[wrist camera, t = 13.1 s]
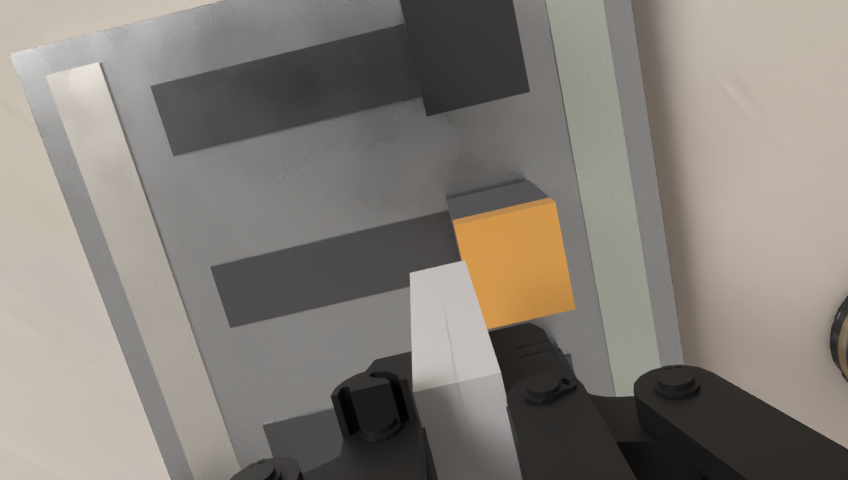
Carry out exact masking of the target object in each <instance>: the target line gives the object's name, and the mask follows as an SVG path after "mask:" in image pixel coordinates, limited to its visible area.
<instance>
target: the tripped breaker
mask: <svg viewBox="0 0 848 480" xmlns="http://www.w3.org/2000/svg"><path fill="white" fill-rule="evenodd" d="M446 202H447V206H448V211H449V215H450V220H451V224H452V228H453V233H454V237H455V241H456V246H457V250H458V254H459V259H460V261H463V260H465V262H466V265H467V268H468V271H469V274H470V277H471V281H472V284H473V287H474V290H475V293H476V296H477V299H478V302H479V305H480V309H481V312H482V315H483V318H484V321H485V324H486V327H487V329H491V328H496V327H500V326H504V325H509V324H513V323H518V322H522V321H526V320H531V319H535V318H539V317H544V316H548V315H553V314H557V313H561V312H566V311H570V310H574V309H575V304H574V298H573V293H572V288H571V282H570V277H569V272H568V266H567V261H566V256H565V250H564V245H563V240H562V234H561V229H560V224H559V218H558V213H557V208H556V202H555V201H554V200H552V199H551V198H550V197H549V196H548V195H546V194H545V193H544V192H543V191H542V190H540V189H539V188H538V187H537V186H536V185H534V184H533V183H532V182H531V181H530V180H528V181H524V182H520V183H515V184H511V185H507V186H503V187H498V188H494V189H490V190H486V191H481V192H477V193H473V194H469V195H464V196H460V197H456V198H452V199H448V200H446Z"/></svg>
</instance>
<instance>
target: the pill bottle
mask: <svg viewBox="0 0 848 480" xmlns="http://www.w3.org/2000/svg"><path fill="white" fill-rule="evenodd" d="M830 349H831V354H832V358H833V361H834V362H835V364H836V366H837V367H838V368H839V369H840V370H841V371H842V375H843V377H844V378H845V379H846V381H847V382H848V296H847V297H846V299H845V301H844V302H843V303H842V304H841V306H840V308H839V309H838V312H837V314H836V316H835V320H834V323H833V325H832V328H831V334H830Z"/></svg>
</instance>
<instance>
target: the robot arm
mask: <svg viewBox="0 0 848 480" xmlns="http://www.w3.org/2000/svg"><path fill="white" fill-rule="evenodd" d="M410 303H411V342H412V351H410V352H406V353H402V354H397V355H393V356H389V357H384V358H380V359H376V360H374V361H373V362H372V364H371V365H370V366H369V367H368V369H367V370H366V371H365V372H362V373H359V374H356V375H354V376H352V377H350V378H348V379H346V380H344V381H343V382H342V383H341V384H339V385H338V386H337V387H336V388H335V389H334V391H333V392H332V394H331V396H330V397H331V400H332V403H333V407H334V410H335V413H336V417H337V420H338V423H339V427H340V430H341V433H342V437H343V443H342V449H341V454H340V455H339V456H337V457H336V458H334V459H333V460H331V461H329V462H327V463H325V464H323V465H321V466H319V467H317V468H314V469H312V470H310V471H307V472H305V473H303V474H302V472H301V469H300V466H299V464H298V462H297V461H295V460H293V459H291V458H290V457H274V458H269V459H262V460H259V461H257V462H256V463H255V462H254V463H252V464H249V465H248V466H246V467H245V468H244V469H242V470H241V471H239V472H238V473H236V474H235V475H234V476H233V477H232V478H231V479H230V480H848V449H846V448H845V447H843V446H841V445H839V444H838V443H836V442H834V441H832V440H830V439H829V438H827V437H825V436H823V435H822V434H820V433H818V432H816V431H815V430H813V429H811V428H809V427H808V426H806V425H804V424H802V423H801V422H799V421H797V420H795V419H793V418H792V417H790V416H788V415H786V414H785V413H783V412H781V411H779V410H778V409H776V408H774V407H772V406H771V405H769V404H767V403H765V402H764V401H762V400H760V399H758V398H756V397H755V396H753V395H751V394H749V393H748V392H746V391H744V390H742V389H741V388H739V387H737V386H735V385H734V384H732V383H730V382H728V381H727V380H725V379H723V378H721V377H719V376H718V375H716V374H714V373H712V372H710V371H707V370H705V369H702V368H699V367H693V366H685V365H674V366H672V365H668V366H663V367H661V368H657V369H653V370H650V371H648V372H647V373H645V374H643V375H641V376H640V377H639V378H638V379H637V380H636V381H635V383H634V396H625V397H604V396H598V395H592V394H589V393H588V392H587V390H586V389H585V387H584V385H583V384H582V383H581V382H580V381H579V380H578V379H577V378H576V377H573V376H570V375H568V373H567V372H566V370H565V368H564V366H563V364H562V362H561V361H560V359H559V357H558V355H557V353H556V351H555V350H554V348H553V346H552V344H551V342H550V341H549V338H548V336H547V335H546V333H545V331H544V329H542V328H540V327H538V326H536V325H534V324H532V323H530V322H529V323H525V324H520V325H516V326H512V327H507V328H503V329H499V330H494V331H490V332H488V330H487V327H486V324H485V321H484V318H483V315H482V312H481V309H480V305H479V302H478V299H477V296H476V293H475V290H474V287H473V284H472V281H471V277H470V274H469V271H468V268H467V265H466V262H465V260H463V261H459V262H455V263H450V264H446V265H442V266H438V267H433V268H429V269H425V270H420V271H416V272H412V273H410Z"/></svg>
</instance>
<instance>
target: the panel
mask: <svg viewBox="0 0 848 480" xmlns="http://www.w3.org/2000/svg"><path fill="white" fill-rule="evenodd" d="M10 56H11V59H12V62H13V64H14V67H15V70H16V72H17V75H18V78H19V80H20V83H21V85H22V88H23V91H24V93H25V96H26V99H27V101H28V104H29V107H30V109H31V112H32V114H33V117H34V120H35V122H36V125H37V128H38V130H39V133H40V136H41V138H42V141H43V143H44V146H45V149H46V151H47V154H48V157H49V159H50V162H51V165H52V167H53V170H54V172H55V175H56V178H57V180H58V183H59V186H60V188H61V191H62V194H63V196H64V199H65V201H66V204H67V207H68V209H69V212H70V215H71V217H72V220H73V223H74V225H75V228H76V230H77V233H78V236H79V238H80V241H81V244H82V246H83V249H84V252H85V254H86V257H87V259H88V262H89V265H90V267H91V270H92V273H93V275H94V278H95V281H96V283H97V286H98V289H99V291H100V294H101V296H102V299H103V302H104V304H105V307H106V310H107V312H108V315H109V318H110V320H111V323H112V325H113V328H114V331H115V333H116V336H117V339H118V341H119V344H120V347H121V349H122V352H123V354H124V357H125V360H126V362H127V365H128V368H129V370H130V373H131V376H132V378H133V381H134V383H135V386H136V389H137V391H138V394H139V397H140V399H141V402H142V405H143V407H144V410H145V412H146V415H147V418H148V420H149V423H150V426H151V428H152V431H153V434H154V436H155V439H156V441H157V444H158V447H159V449H160V452H161V455H162V457H163V460H164V463H165V465H166V468H167V470H168V473H169V476H170V478H171V480H230V479H231V478H232V477H233V476H234V475H235V474H236V473H238V472H239V471H241V470H242V469H244V468H245V467H246V466H248V465H249V464H252V463H254V462H255V463H256V462H257V461H259V460H262V459H269V458H274V457H290V458H291V459H293V460H295V461H297V462H298V464H299V466H300V469H301V472H302V474H303V473H305V472H307V471H310V470H312V469H314V468H317V467H319V466H321V465H323V464H325V463H327V462H329V461H331V460H333V459H334V458H336V457H337V456H339V455H340V454H341V449H342V443H343V437H342V433H341V430H340V427H339V423H338V420H337V417H336V413H335V410H334V407H333V403H332V400H331V397H330V396H331V394H332V392H333V391H334V389H335V388H336V387H337V386H338V385H339V384H341V383H342V382H343V381H344V380H346V379H348V378H350V377H352V376H354V375H356V374H359V373H362V372H365V371H366V370H367V369H368V367H369V366H370V365H371V364H372V362H373V361H374V360H376V359H380V358H384V357H389V356H393V355H397V354H402V353H406V352H410V351H412V342H411V303H410V273H412V272H416V271H420V270H425V269H429V268H433V267H438V266H442V265H446V264H450V263H455V262H459V261H460V259H459V254H458V250H457V246H456V241H455V237H454V233H453V228H452V224H451V220H450V215H449V211H448V206H447V202H446V200H448V199H452V198H456V197H460V196H464V195H469V194H473V193H477V192H481V191H486V190H490V189H494V188H498V187H503V186H507V185H511V184H515V183H520V182H524V181H528V180H530V181H531V182H532V183H533V184H534V185H536V186H537V187H538V188H539V189H540V190H542V191H543V192H544V193H545V194H546V195H548V196H549V197H550V198H551V199H552V200H554V201H555V202H556V208H557V213H558V218H559V224H560V229H561V234H562V240H563V245H564V250H565V256H566V261H567V266H568V272H569V277H570V282H571V288H572V293H573V298H574V304H575V309H574V310H570V311H566V312H561V313H557V314H553V315H548V316H544V317H539V318H535V319H531V320H526V321H522V322H518V323H513V324H509V325H504V326H500V327H496V328H491V329H487V330H488V332H490V331H494V330H499V329H503V328H507V327H512V326H516V325H520V324H525V323H529V322H530V323H532V324H534V325H536V326H538V327H540V328H542V329H544V331H545V333H546V335H547V336H548V338H549V341H550V342H551V344H552V346H553V348H554V350H555V351H556V353H557V355H558V357H559V359H560V361H561V362H562V364H563V366H564V368H565V370H566V372H567V373H568V375H570V376H573V377H576V378H577V379H578V380H579V381H580V382H581V383H582V384H583V385H584V387H585V389H586V390H587V392H588V393H589V394H592V395H598V396H604V397H625V396H634V383H635V381H636V380H637V379H638V378H639V377H640V376H641V375H643V374H645V373H647V372H648V371H650V370H653V369H657V368H661V367H663V366H668V365H672V366H674V365H684V359H683V352H682V345H681V338H680V332H679V325H678V318H677V311H676V304H675V297H674V291H673V284H672V277H671V270H670V263H669V256H668V250H667V243H666V236H665V229H664V222H663V216H662V209H661V202H660V195H659V188H658V181H657V175H656V168H655V161H654V154H653V147H652V140H651V134H650V127H649V120H648V113H647V106H646V100H645V93H644V86H643V79H642V72H641V65H640V59H639V52H638V45H637V38H636V31H635V24H634V18H633V11H632V4H631V0H224V1H220V2H216V3H212V4H208V5H204V6H200V7H196V8H192V9H188V10H184V11H180V12H176V13H172V14H168V15H164V16H160V17H156V18H152V19H147V20H143V21H139V22H135V23H131V24H127V25H123V26H119V27H115V28H111V29H107V30H103V31H99V32H95V33H91V34H87V35H83V36H79V37H75V38H71V39H67V40H63V41H59V42H55V43H51V44H47V45H43V46H39V47H35V48H31V49H27V50H23V51H19V52H15V53H11V54H10Z"/></svg>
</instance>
